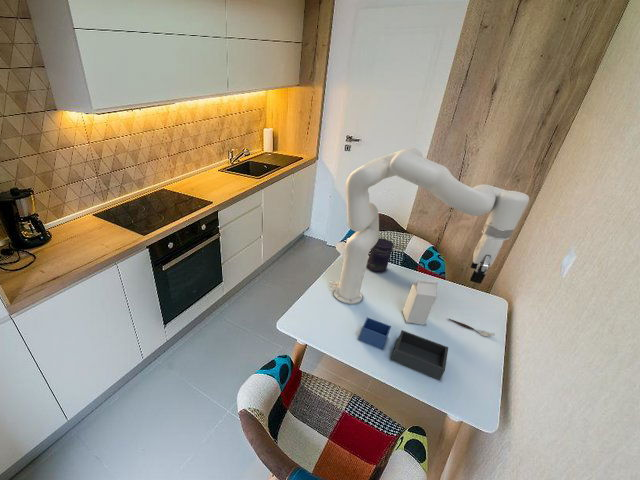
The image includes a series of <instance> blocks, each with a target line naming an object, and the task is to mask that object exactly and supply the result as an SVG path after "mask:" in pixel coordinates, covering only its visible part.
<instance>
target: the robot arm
mask: <svg viewBox="0 0 640 480" xmlns="http://www.w3.org/2000/svg"><path fill="white" fill-rule="evenodd" d="M392 177H398V178H400V179H403V180H404V181H407V182H409V183H412V184H414V185H415V186H418V187H420V188H422V189H424V190H426V191H428V192H430V194H432V196H434V197H436V198H437V199H438V200H440V201H441V202H442V203H444V204H445V205H447V206H448V207H451V208H452V209H455V210H457V211H459V212H461V213H464V214H466V215H469V216H474V217H480V216H484V215H487V214H488V213H489V214H488V217H487V219H486V220H485V223H484V225H483V228H482V229H481V234H482V236H481V237H480V239H479V240H478V243H477V244H476V247H475V248H474V251H473V255H472V262H471V265H470V268H471V269H473V272H472V273H471V274H472V275H471V277H470V279H469V281H470V282H473V283H476V284H482V283H483V280H484V279H485V277H486V275H487V272H488V269H489V268H490V267H492V266H493V264H494V262H495V260H496V258H497V256H498V254H499V252H500V251H501V248H502V247H503V244H504V241H508V240H510V239H511V237H512V235H513V233H514V231H515V229H516V227H517V225H518V224H519V222H520V220H521V217H522V216H523V214H524V212H525V210H526V208H527V206H528V205H529V202H530V196H529V195H528V194H526V193H524V192H522V191H516V190H506V189H503V188H500V187H497V186H494V185H491V184H485V183H484V184H478V185H474V186H473V187H471V186H469V185H466V184H465V183H462V182H461V181H460V180H458V179H457V178H456V177H454V176H453V174H452V173H451V171H450V170H449V169H448V167H446V166H445V165H443V164H440V163H437V162H436V161H433V160H431V159H428V158H426V157H423V154H422V152H421V150H419V149H418V148H416V147H405V148H403V149H400V150H397V151H395V152H392V153H389V154H386V155H383V156H380V157H376V158H374V159H371V160H370V161H367V162H366V163H364V164H363V165H361V166H359V167H358V168H356V169H355V170H353V171H352V172H351V173H349V175H348V176H347V179H346V181H345V197H346V198H345V199H346V202H345V203H346V222H347V226H348V228H349V229H350V230H351V231H354V233H353V234H352V235H351V236H350V237H348V238H347V240H346V242H345V245H344V257H343V262H342V267H341V273H340V277H339V282H335V281H332V280H330V281H329V284H328V285H329V288H331V289H333V296H334V297H335V299H336V300H338V301H340V302H341V303H344V304H349V305H355V304H359V303H360V302H362V300H363V293H362V292H361V288H362V285H363V280H364V278H365V273H366V270H367V261H368V258H369V255H370V253H371V249H372V248H373V247H374V245H375V244H376V243H377V241H378V239H379V238H380V215H379V214H380V213H379V210H378V207H377V205H375V204H374V203H372V202H371V201H370V193H369V189H370V188H371V187H373V186H375V185H377V184H379V183H380V182H382V181H383V180H385V179H388V178H392Z"/></svg>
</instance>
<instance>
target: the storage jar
mask: <svg viewBox="0 0 640 480" xmlns="http://www.w3.org/2000/svg"><path fill="white" fill-rule="evenodd" d="M393 248H394V243H393V242H392V240H389V239H387V238H380V237H379V239H378V241H377V243H376V244H375V245H374V247H373V248H372V249H371V250H370V252H369V255H368V260H367V266H366V270H368V271H370V272H372V273H376V274H383V273H385V272H386V271H387V267H388V265H389V260H390V256H391V255H392V252H393Z"/></svg>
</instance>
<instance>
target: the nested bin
mask: <svg viewBox="0 0 640 480" xmlns="http://www.w3.org/2000/svg"><path fill="white" fill-rule="evenodd" d="M391 329H392V326H391V325H390V324H386V323H384V322H381V321H378V320H376V319H373V318H370V317H366V319H365V321H364V323H363V324H362V327H361V330H360V334H359V338H358V341H360V342H363V343H365V344H367V345H369V346H373V347H375V348H378V349H380V350H384V347H385V345H386V343H387V339H388V337H389V334H390V331H391Z"/></svg>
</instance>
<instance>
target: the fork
mask: <svg viewBox="0 0 640 480" xmlns="http://www.w3.org/2000/svg"><path fill="white" fill-rule="evenodd" d="M448 320H449V321H451V322H453V323H456V324H458V325H460V326H462V327H464V328H467V329H469V330H473V331H476V332H477V333H479V335H481V336H483V337H488V332H486V331H481V330H478V329H477V328H475V327H472V326H469V325H468V324H465V323H462V322H459V321H457V320H455V319H451V318H448ZM490 335H494V332H490Z"/></svg>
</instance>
